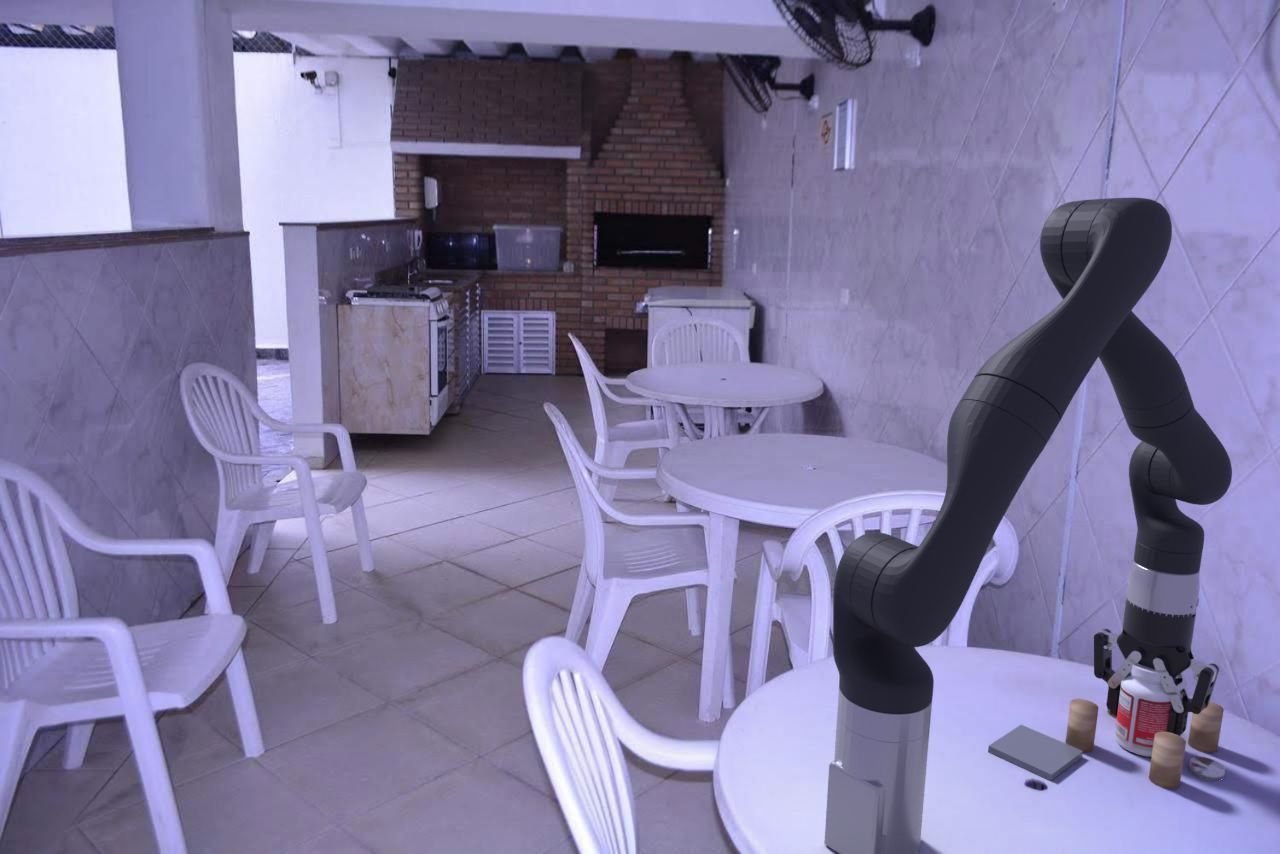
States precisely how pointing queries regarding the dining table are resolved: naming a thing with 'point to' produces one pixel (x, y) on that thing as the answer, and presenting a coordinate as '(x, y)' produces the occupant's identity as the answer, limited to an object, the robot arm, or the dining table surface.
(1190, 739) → the cylinder
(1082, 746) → the cylinder
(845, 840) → the robot arm
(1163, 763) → the cylinder
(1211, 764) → the shiny metal disc
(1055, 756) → the slate coaster
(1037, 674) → the dining table surface
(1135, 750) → the pill bottle
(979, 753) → the dining table surface
